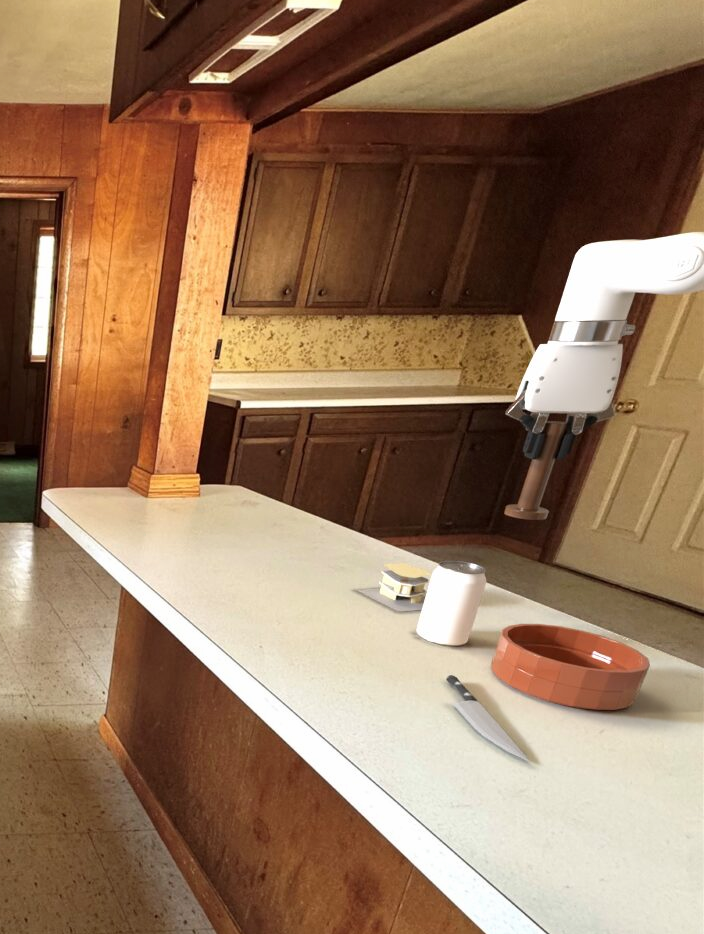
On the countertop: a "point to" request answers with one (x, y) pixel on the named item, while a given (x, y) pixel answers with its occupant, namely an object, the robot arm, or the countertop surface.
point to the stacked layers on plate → (400, 587)
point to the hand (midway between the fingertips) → (544, 457)
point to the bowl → (569, 666)
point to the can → (451, 603)
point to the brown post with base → (538, 476)
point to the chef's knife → (483, 719)
